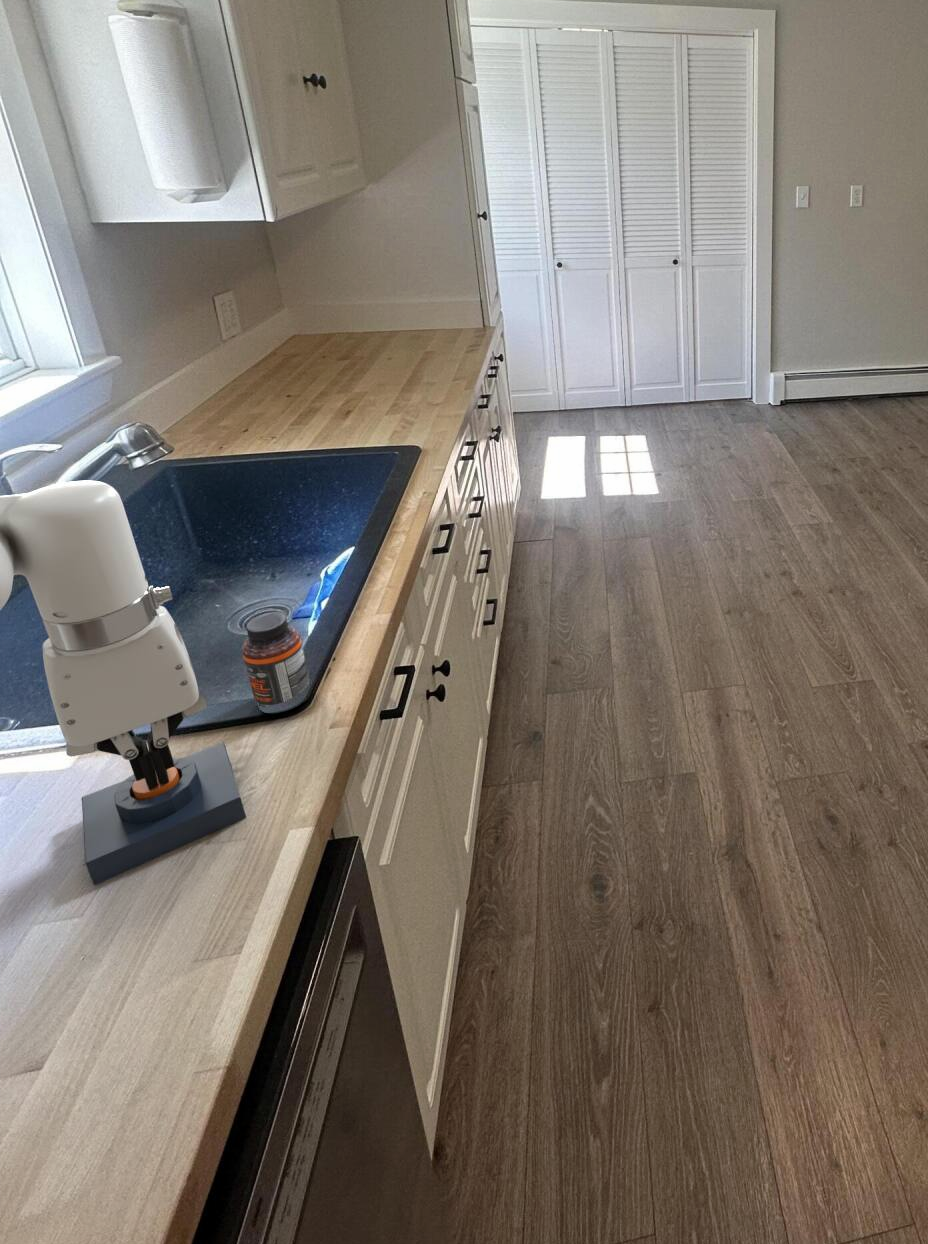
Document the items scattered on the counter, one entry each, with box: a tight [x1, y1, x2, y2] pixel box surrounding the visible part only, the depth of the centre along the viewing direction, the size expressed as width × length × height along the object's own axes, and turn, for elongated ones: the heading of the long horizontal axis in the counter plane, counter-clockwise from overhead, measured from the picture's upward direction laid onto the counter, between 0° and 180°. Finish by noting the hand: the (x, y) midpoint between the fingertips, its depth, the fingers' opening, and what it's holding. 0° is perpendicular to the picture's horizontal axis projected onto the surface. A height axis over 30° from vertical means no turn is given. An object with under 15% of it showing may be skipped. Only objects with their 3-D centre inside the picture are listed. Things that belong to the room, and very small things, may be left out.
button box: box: [81, 741, 247, 886], centre depth 78 cm, size 12×10×4 cm
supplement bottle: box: [241, 611, 311, 707], centre depth 93 cm, size 6×6×11 cm
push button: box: [132, 767, 180, 800], centre depth 77 cm, size 4×4×2 cm
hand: (157, 777), depth 77 cm, fingers closed
